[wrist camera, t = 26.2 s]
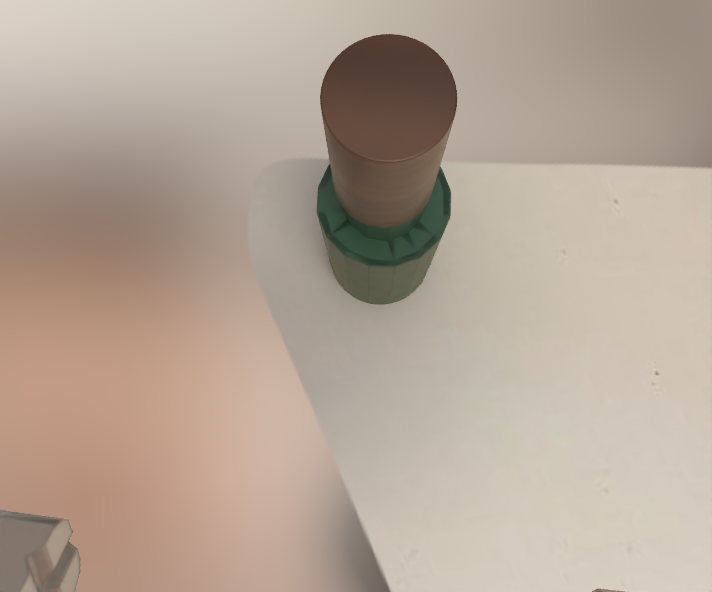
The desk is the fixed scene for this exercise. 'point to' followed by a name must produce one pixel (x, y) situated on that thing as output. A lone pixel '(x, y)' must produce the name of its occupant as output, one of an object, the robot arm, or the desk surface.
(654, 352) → the desk surface
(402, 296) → the bottle
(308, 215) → the desk surface
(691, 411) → the desk surface
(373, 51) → the brown cylinder
